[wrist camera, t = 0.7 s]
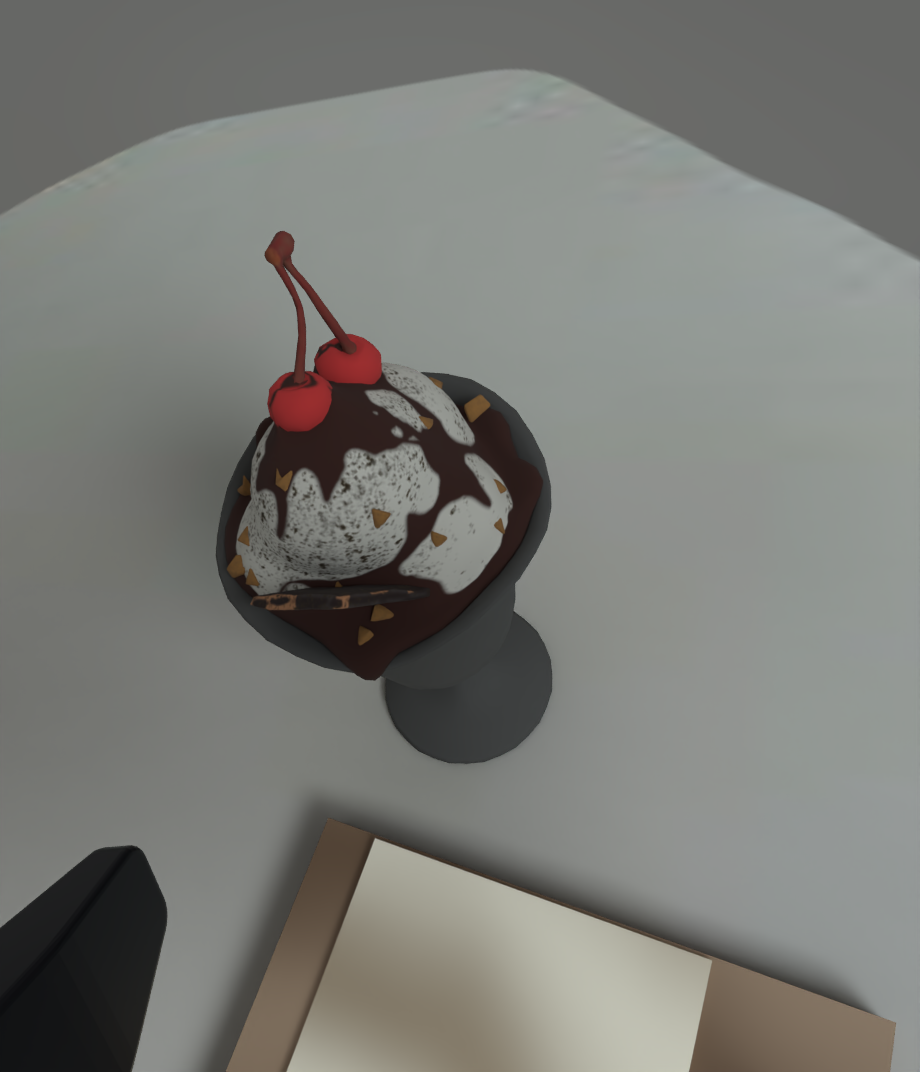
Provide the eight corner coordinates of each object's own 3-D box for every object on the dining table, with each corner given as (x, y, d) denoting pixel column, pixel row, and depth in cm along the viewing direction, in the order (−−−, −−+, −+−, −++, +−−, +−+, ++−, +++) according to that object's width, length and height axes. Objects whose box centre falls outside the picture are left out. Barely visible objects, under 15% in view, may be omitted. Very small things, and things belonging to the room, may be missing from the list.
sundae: (467, 538, 28) (312, 120, 15) (629, 672, 25) (612, 289, 12) (313, 685, 26) (-5, 360, 13) (466, 846, 23) (241, 625, 10)
